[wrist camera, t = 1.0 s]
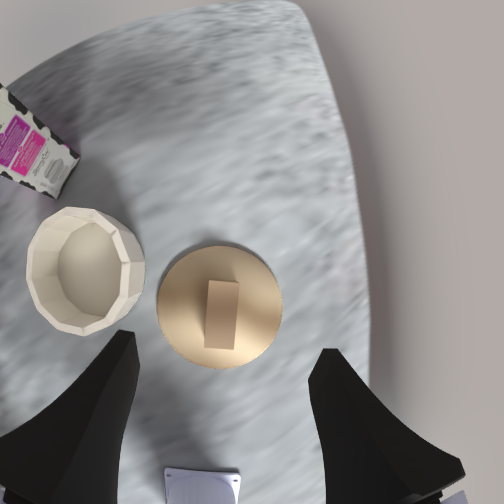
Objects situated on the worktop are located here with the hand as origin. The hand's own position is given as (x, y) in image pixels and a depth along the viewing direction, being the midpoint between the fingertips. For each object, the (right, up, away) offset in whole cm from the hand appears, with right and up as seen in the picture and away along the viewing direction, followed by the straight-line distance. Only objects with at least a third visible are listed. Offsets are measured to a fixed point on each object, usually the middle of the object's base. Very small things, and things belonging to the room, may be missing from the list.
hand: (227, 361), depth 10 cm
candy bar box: (-21, +14, +11) cm, 27 cm away
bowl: (-12, +3, +12) cm, 17 cm away
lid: (-2, -1, +14) cm, 14 cm away
